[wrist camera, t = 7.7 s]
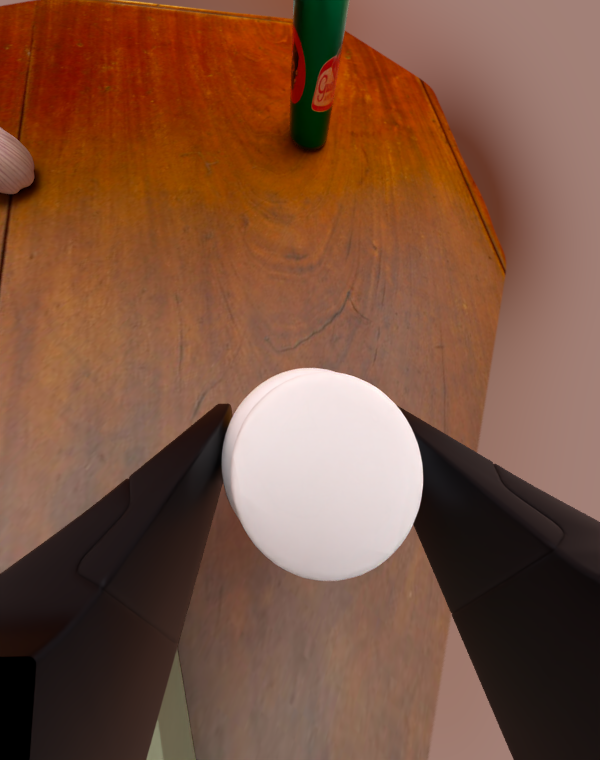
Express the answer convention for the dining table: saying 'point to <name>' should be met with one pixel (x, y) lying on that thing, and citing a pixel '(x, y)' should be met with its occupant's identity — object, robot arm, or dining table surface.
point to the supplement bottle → (322, 473)
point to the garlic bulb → (14, 164)
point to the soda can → (315, 68)
